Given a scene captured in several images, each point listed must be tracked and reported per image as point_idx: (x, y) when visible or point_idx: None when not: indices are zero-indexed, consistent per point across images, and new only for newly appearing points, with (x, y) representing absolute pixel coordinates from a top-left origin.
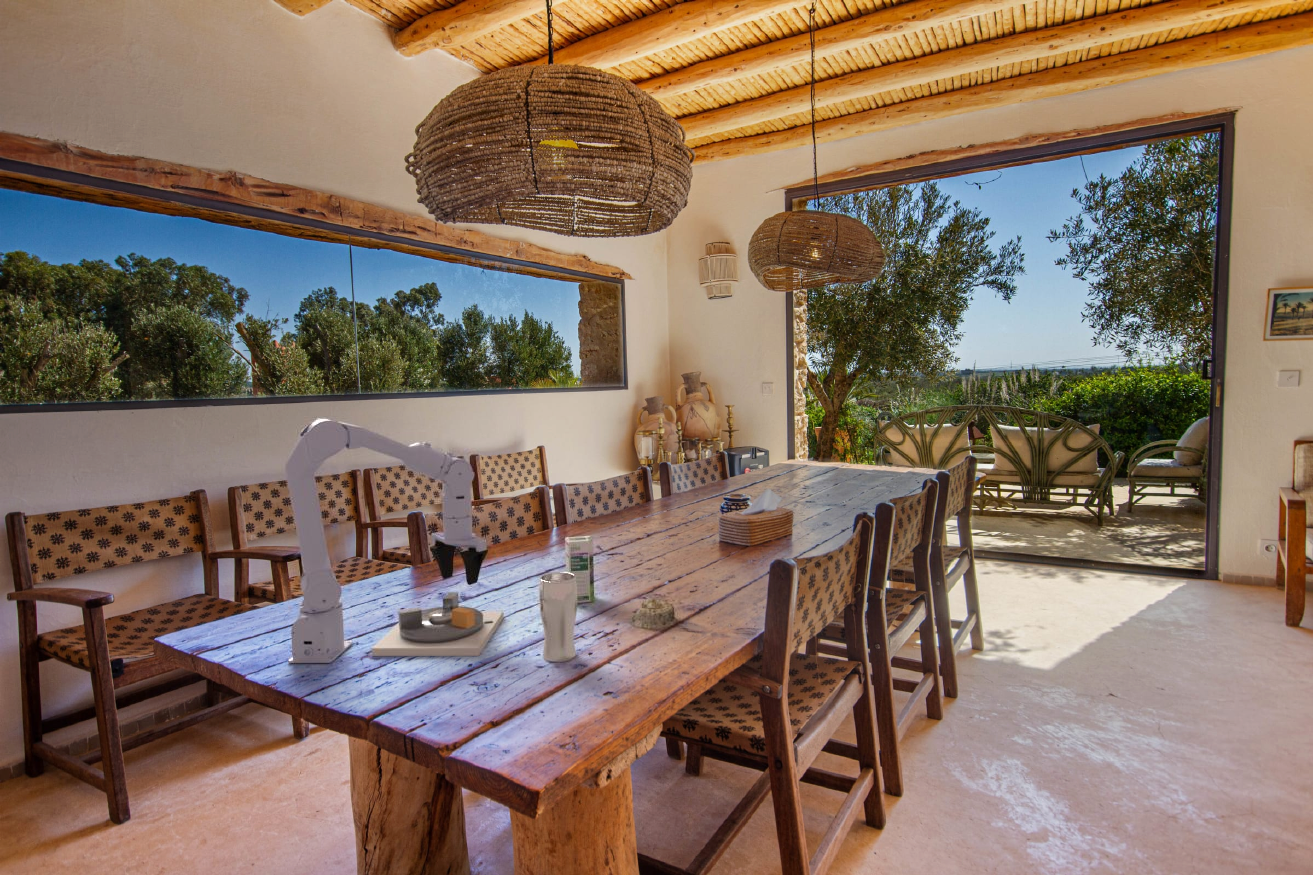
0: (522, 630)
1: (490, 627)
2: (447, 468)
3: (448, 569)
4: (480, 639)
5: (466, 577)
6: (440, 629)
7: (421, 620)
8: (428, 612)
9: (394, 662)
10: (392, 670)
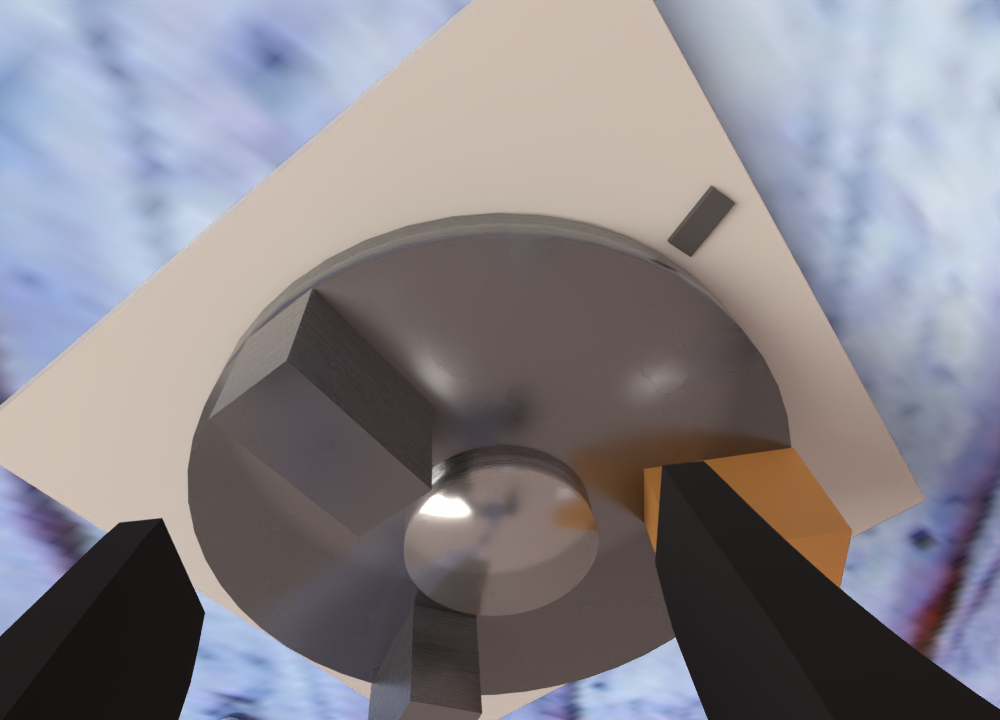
0: (943, 34)
1: (783, 275)
2: None
3: (127, 668)
4: (859, 434)
5: (692, 665)
6: (641, 591)
7: (475, 644)
8: (275, 504)
9: (586, 685)
10: (646, 710)
